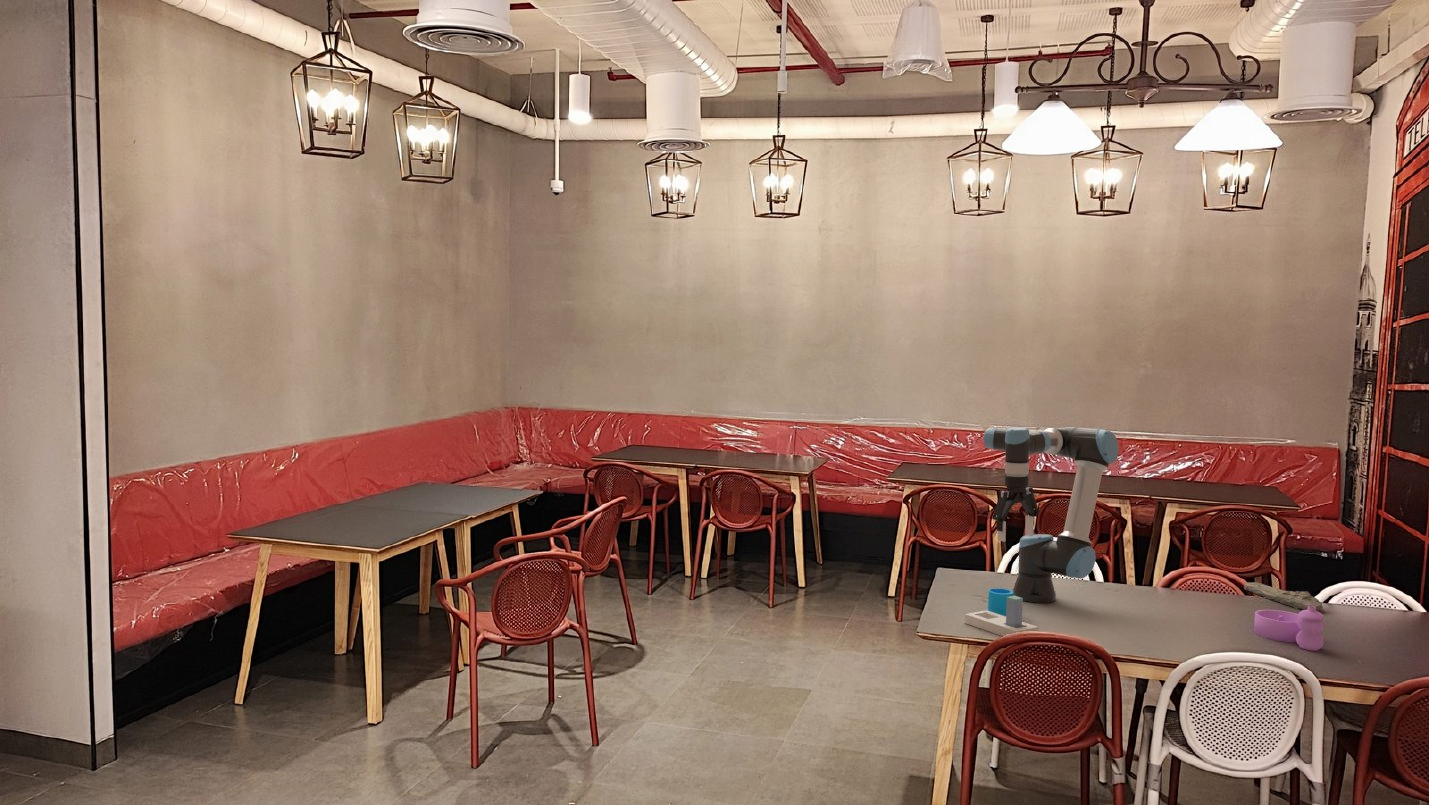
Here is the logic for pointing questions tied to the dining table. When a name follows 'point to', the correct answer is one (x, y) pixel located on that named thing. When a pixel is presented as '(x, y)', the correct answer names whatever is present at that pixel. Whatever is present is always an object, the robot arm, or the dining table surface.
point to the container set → (1291, 627)
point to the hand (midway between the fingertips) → (1015, 538)
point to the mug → (998, 600)
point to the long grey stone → (1285, 596)
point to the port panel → (995, 623)
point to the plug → (1014, 611)
